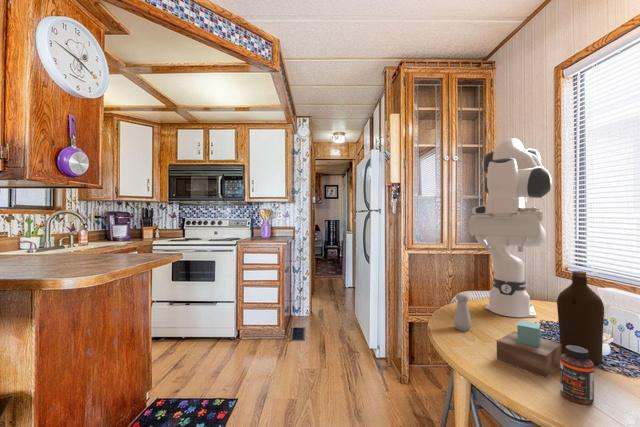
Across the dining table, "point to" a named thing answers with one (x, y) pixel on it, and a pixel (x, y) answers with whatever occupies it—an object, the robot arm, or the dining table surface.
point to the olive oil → (581, 317)
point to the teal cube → (528, 333)
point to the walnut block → (529, 355)
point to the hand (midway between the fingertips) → (503, 250)
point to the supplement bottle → (577, 375)
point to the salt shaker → (462, 313)
